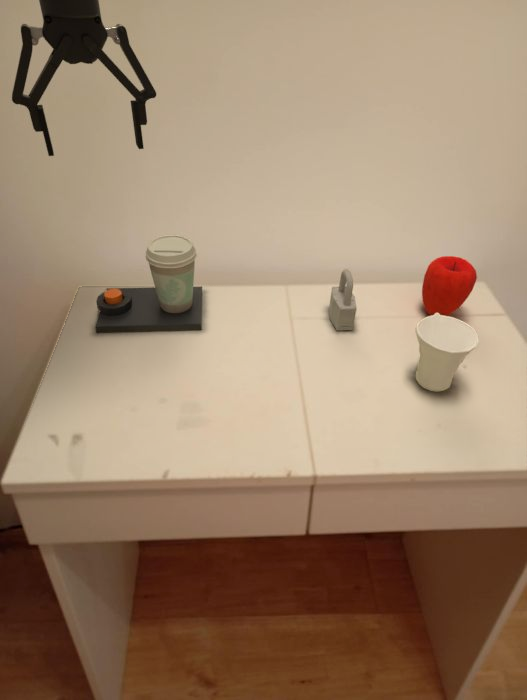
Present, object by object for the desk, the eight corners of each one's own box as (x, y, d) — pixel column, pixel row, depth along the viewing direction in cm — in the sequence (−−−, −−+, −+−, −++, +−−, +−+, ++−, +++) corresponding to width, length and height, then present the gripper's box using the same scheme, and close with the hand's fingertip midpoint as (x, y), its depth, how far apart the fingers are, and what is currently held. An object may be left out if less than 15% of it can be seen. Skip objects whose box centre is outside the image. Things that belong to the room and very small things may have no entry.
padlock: (355, 330, 84) (365, 283, 78) (333, 331, 84) (341, 283, 77) (346, 307, 90) (355, 261, 83) (325, 308, 89) (332, 261, 83)
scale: (94, 332, 81) (90, 319, 79) (105, 294, 90) (102, 281, 88) (201, 330, 83) (200, 316, 81) (202, 292, 92) (201, 279, 90)
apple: (463, 330, 85) (483, 279, 78) (414, 321, 87) (429, 270, 80) (461, 303, 92) (479, 254, 85) (415, 296, 94) (429, 246, 87)
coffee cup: (142, 307, 85) (133, 247, 77) (174, 286, 91) (167, 228, 83) (179, 323, 82) (172, 263, 74) (209, 301, 87) (206, 242, 79)
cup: (448, 360, 79) (467, 312, 72) (466, 401, 72) (489, 351, 65) (395, 359, 78) (409, 310, 72) (409, 400, 71) (426, 350, 65)
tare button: (104, 305, 83) (102, 297, 82) (107, 295, 85) (105, 288, 84) (121, 304, 83) (120, 297, 82) (123, 295, 86) (122, 288, 85)
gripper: (-46, -22, 55) (10, 164, 68) (167, -16, 62) (179, 150, 76) (-40, -25, 60) (11, 148, 74) (155, -19, 68) (169, 137, 81)
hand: (96, 150), depth 75 cm, fingers open, 13 cm apart
